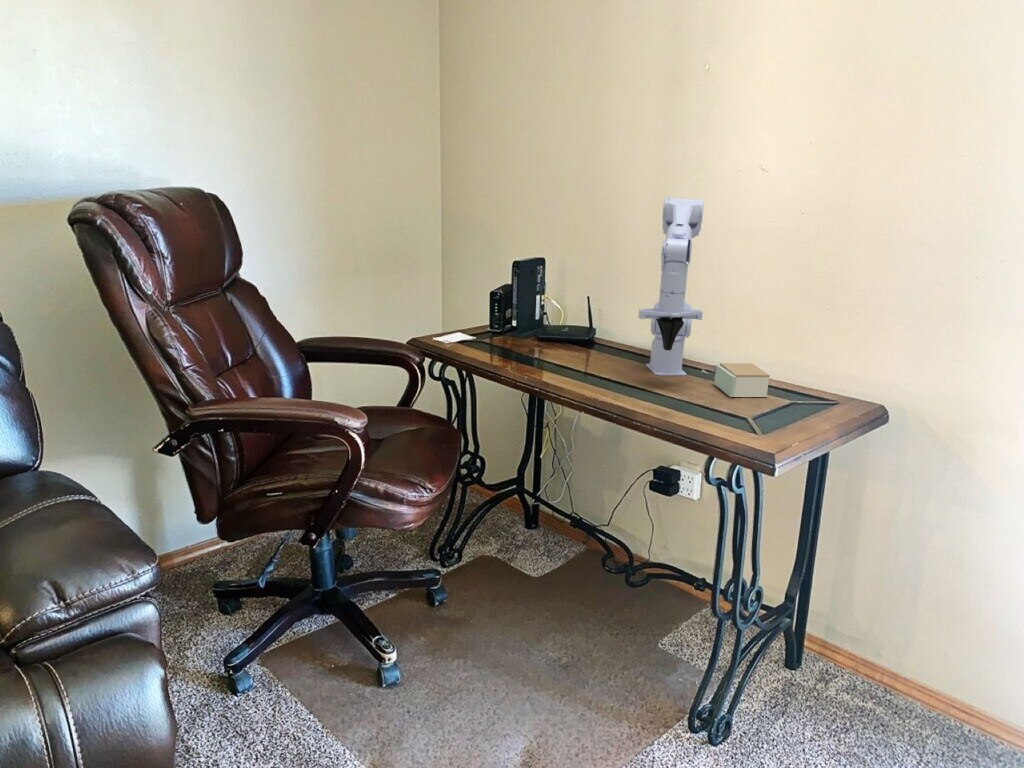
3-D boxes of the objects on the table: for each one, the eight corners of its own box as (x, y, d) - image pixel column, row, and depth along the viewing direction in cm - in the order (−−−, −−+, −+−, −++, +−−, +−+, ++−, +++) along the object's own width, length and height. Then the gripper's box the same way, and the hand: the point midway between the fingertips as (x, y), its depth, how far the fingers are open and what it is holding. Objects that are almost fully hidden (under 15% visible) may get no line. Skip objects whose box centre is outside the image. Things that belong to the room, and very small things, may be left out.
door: (712, 382, 190) (714, 363, 189) (716, 382, 191) (718, 363, 189) (730, 397, 180) (732, 377, 179) (734, 397, 180) (736, 376, 179)
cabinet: (717, 385, 190) (720, 363, 189) (749, 385, 191) (752, 363, 190) (733, 398, 181) (735, 375, 179) (766, 398, 182) (769, 375, 180)
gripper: (646, 294, 175) (641, 353, 179) (709, 295, 177) (703, 353, 181) (638, 288, 182) (633, 345, 186) (699, 289, 184) (693, 346, 188)
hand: (667, 349), depth 184 cm, fingers closed
